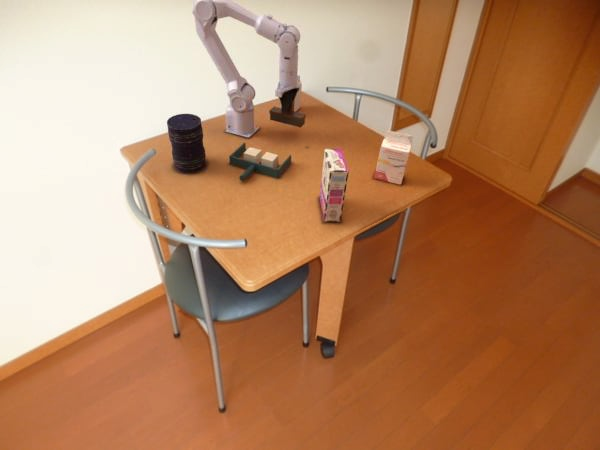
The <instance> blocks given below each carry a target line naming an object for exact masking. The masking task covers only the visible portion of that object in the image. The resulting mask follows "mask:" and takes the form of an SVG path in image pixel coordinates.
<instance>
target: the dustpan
mask: <svg viewBox="0 0 600 450" xmlns="http://www.w3.org/2000/svg"><path fill="white" fill-rule="evenodd" d="M246 150H247V145H246V142H243V143H242V144H241V145H240V146H239V147H237V148H236V149H235V150H234V151H233V152H232V153H230V154H229V156H228V158H229V165H231V166H234V167H238V168H242V169H245V170H244V171H243V172H242V173H241V174H240V175H239V176H238V177H239V180H240V182H243V183H244V182H245V181H247V179H248V178H250V176H251V175H252V174H253V173H254V172H255V173H259V174H262V175H264V176H265V175H266V176H268V177H272V178H275V179H279V178H280V177H281V176H282V175H283V173H285V171H286V170H287V169H288V168H289V167H290V165H292V154H290V155H288V157H287V158H286V159H285V160H284V161H283V162H282V164H281V165H280V166H278V168H272V167H269V166H265V165H262V164H261V163H259V164H258V163H255V162H251V161H248V160H244V158H241V156H242V155H244V152H245V151H246Z"/></svg>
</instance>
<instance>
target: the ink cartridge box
mask: <svg viewBox="0 0 600 450" xmlns="http://www.w3.org/2000/svg"><path fill="white" fill-rule="evenodd" d="M398 136H399V138H398ZM413 139H414V137H413V135H411V134H406V133H401V132H397V131H392V130H388V129H387V130H386V131H385V134H384V138H383V140H382V143H381V146H380V150H379V153H378V157H377V158H378V159H377V163H376V168H375V173H374V179H376V180H379V181H383V182H388V183H392V184H397V185H402V183H403V180H404V176H405V172H406V169H407V165H408V161H409V158H410V153H411V149H412V146H413V145H412V142H413Z"/></svg>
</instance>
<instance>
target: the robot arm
mask: <svg viewBox="0 0 600 450" xmlns="http://www.w3.org/2000/svg"><path fill="white" fill-rule="evenodd" d="M192 15H193V17H194V23H195V31H196V34H197V36H198V37H199V39H200V41H201V43H202V45H203V46H204V48H205V50H206V51H207V53H208V55H209V56H210V59H211V60H212V62H213V64H214V66H215V67H216V69H217V71H218V72H219V74H220V75H221V78H222V80H223V81H224V83H225V84H226V95H227V96H228V99H229V104H228V105H227V106H226V110H225V124H226V125H225V126H226V129H225V133H229V134H233V135H237V136H240V137H243V138H248V139H249V138H251V137H252V136H253V135H254V134H255V133H256V132H257V131H259V129H260V127H259V126H256V125H255V104H254V102H253V100H254V99H255V97H256V89H255V88H254V86H253V85H252V84H250V83H249V82H248V80H247V79H246V78H245V77H243V76H241V74H240V72H239V71H238V69H237V67H236V65H235V63H234V61H233V60H232V57H231V56H230V54H229V52H228V50H227V49H226V46H225V44H224V43H223V41H222V40H221V38H220V36H219V34H218V32H217V31H216V28H217V25H218V21H219V19H224V18H229V17H230V18H232V19H234V20H236V21H238V22H241V23H243V24H245V25H247V26H250V27H252V28H254V30H255V33H256V34H257V35H259V36H260V37H263V38H265V39H266V40H269V41H270V42H273V43H274V44H277V46H278V48H279V64H278V65H279V69H278V71H279V73H278V75H279V77H278V83H277V87H276V89H275V91H274V92H275V93H274V95H275V97H277V98H278V99H279V103H280V106H281V105H282V109H283V111H286V112H289V110H290V104H291V100H292V99H293V100H295V97H296V94H297V92H298V91H299V87H300V84H298V82H300V81H301V76H300V75H299V74H298V70H299V69H298V66H299V45H298V44H299V42H300V41H301V33H300V30H299V29H298V28H297V27H296V26H295V25H291V24H290V25H289V24H287V23H285V22H283V23H282V22H280V21H278V20H276V19H275V18H273V17H274V16H273V15H271V14H268V15H267V14H262V15H258V14H256V13H254V12H252V11H250V10H249V9H247V8H246V7H244V6H242V5H240V4H238V3H237V2H235V1H233V0H196V1H195V2H194V5H193V8H192Z"/></svg>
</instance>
